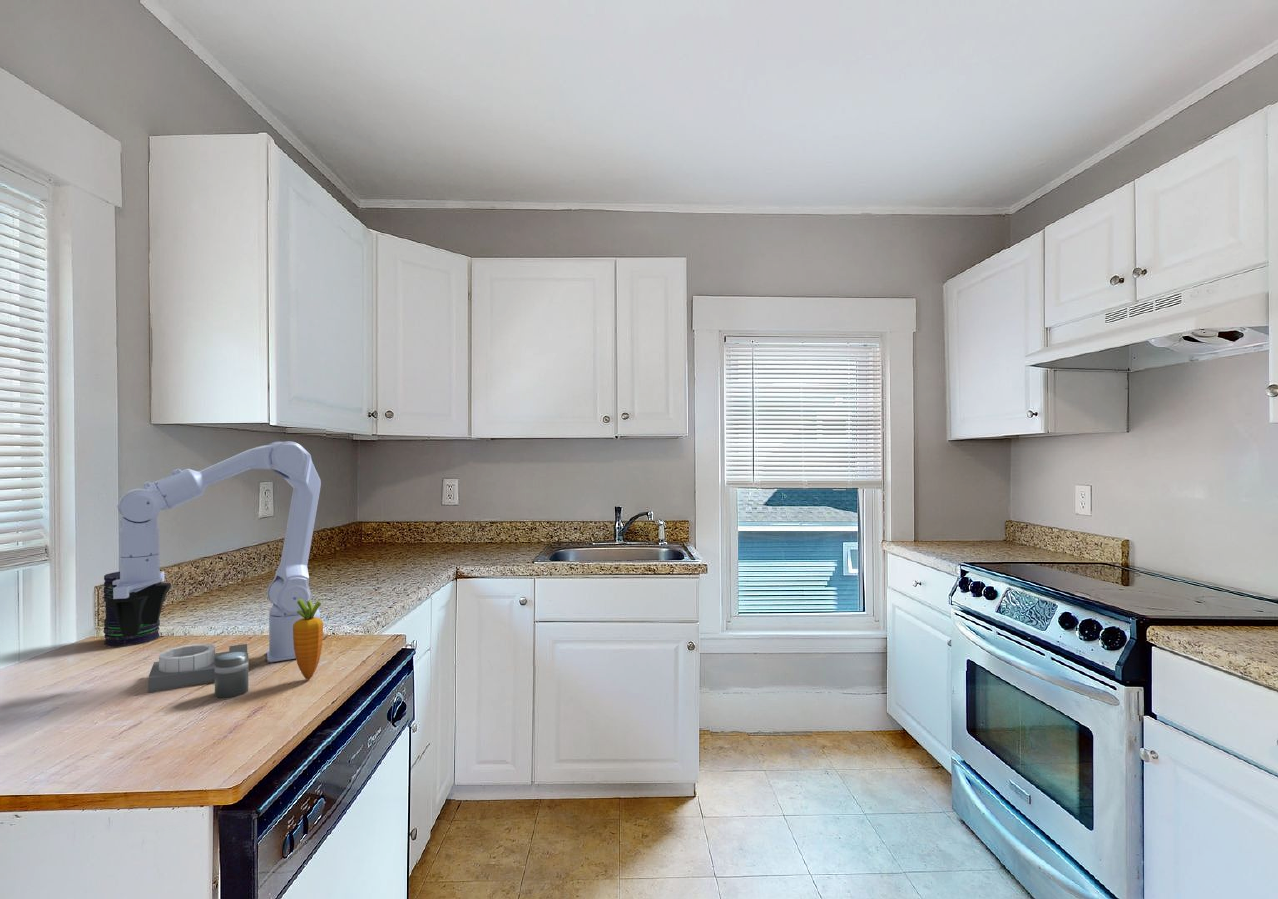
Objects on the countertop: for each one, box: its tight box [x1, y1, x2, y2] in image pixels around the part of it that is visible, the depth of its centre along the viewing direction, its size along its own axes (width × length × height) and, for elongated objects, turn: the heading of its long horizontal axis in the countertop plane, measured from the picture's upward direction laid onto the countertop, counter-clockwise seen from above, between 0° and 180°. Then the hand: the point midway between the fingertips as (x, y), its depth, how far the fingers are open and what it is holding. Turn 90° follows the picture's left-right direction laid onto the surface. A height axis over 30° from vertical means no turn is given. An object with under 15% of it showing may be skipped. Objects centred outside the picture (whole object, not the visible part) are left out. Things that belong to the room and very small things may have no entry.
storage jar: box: [103, 571, 161, 648], centre depth 144 cm, size 10×10×15 cm
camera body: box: [147, 643, 248, 693], centre depth 122 cm, size 15×10×5 cm, turn 122°
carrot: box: [293, 599, 324, 681], centre depth 120 cm, size 5×5×15 cm
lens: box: [214, 651, 249, 700], centre depth 114 cm, size 5×5×7 cm
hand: (140, 629), depth 118 cm, fingers open, 7 cm apart
